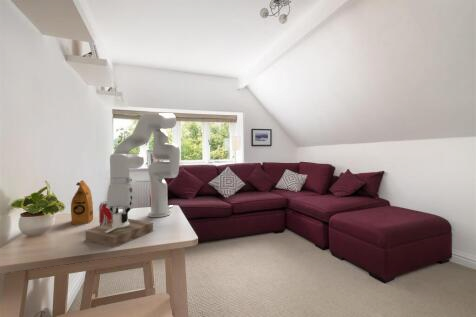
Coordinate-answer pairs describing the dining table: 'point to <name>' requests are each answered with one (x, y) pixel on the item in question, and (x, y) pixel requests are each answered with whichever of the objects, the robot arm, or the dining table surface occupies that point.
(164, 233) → the dining table surface
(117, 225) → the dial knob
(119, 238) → the flat wooden block
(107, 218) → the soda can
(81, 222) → the coffee package
